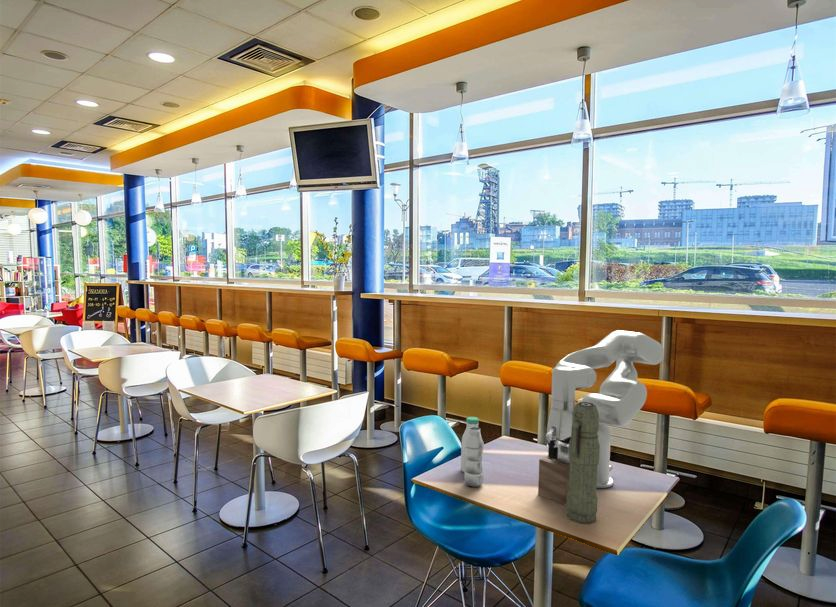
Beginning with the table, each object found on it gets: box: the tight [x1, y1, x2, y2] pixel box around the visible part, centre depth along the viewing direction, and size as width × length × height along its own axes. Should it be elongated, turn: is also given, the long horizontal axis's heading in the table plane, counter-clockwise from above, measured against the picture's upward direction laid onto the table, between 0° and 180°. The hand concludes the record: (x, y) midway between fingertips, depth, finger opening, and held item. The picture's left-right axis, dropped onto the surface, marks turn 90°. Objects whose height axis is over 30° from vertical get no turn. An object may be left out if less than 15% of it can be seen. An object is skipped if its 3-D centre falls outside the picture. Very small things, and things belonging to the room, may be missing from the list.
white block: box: [553, 441, 570, 465], centre depth 170 cm, size 2×6×10 cm, turn 43°
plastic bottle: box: [463, 426, 485, 487], centre depth 177 cm, size 6×7×20 cm
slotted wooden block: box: [537, 455, 570, 505], centre depth 170 cm, size 10×10×12 cm
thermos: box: [566, 402, 600, 525], centre depth 155 cm, size 9×12×35 cm
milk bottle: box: [460, 416, 482, 474], centre depth 190 cm, size 8×8×20 cm
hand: (560, 454), depth 170 cm, fingers open, 9 cm apart
